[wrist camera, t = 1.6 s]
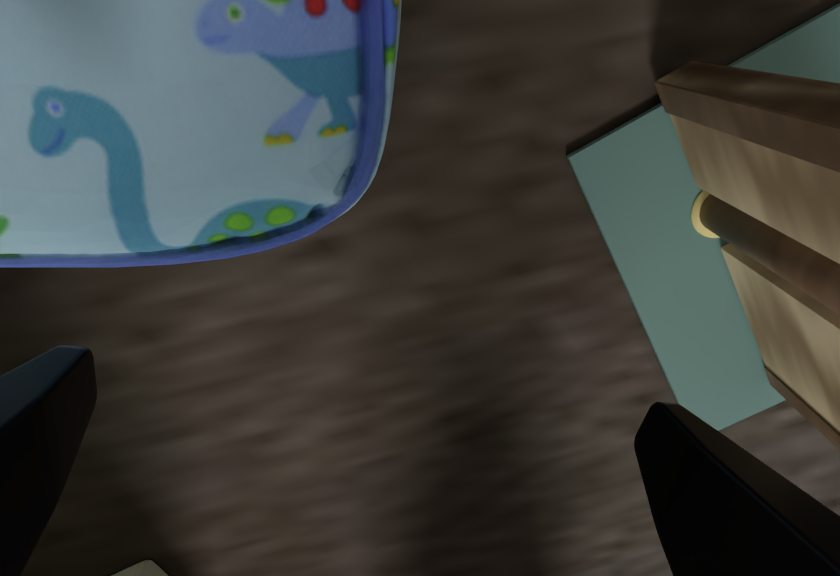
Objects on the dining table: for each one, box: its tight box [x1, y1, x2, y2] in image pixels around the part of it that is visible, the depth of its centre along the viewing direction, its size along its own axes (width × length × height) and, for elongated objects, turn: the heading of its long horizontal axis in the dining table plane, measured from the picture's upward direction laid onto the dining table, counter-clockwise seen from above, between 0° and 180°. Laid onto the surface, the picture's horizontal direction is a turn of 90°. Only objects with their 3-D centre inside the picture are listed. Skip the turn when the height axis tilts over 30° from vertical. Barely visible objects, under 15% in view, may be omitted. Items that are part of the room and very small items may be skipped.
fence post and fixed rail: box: [654, 60, 840, 315], centre depth 18 cm, size 7×2×10 cm, turn 31°
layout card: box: [566, 3, 840, 431], centre depth 24 cm, size 16×13×1 cm
